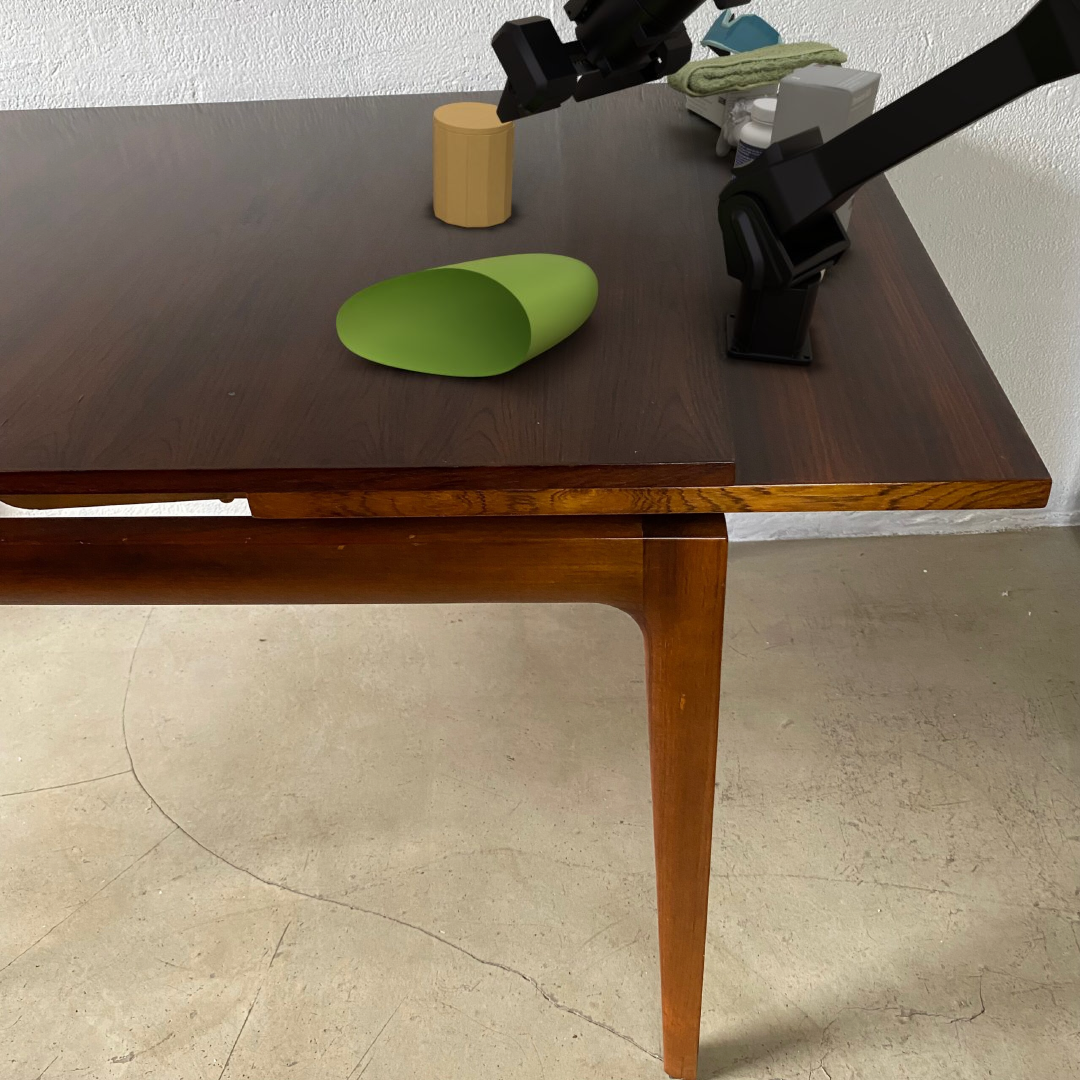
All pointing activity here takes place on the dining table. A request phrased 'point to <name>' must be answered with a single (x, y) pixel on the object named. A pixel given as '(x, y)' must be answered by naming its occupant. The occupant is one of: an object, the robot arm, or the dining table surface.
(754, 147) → the pill bottle
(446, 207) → the cup-cap
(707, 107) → the small box
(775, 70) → the washcloth
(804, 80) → the cosmetic box
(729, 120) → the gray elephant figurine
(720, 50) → the teal curved piece
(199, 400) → the dining table surface
